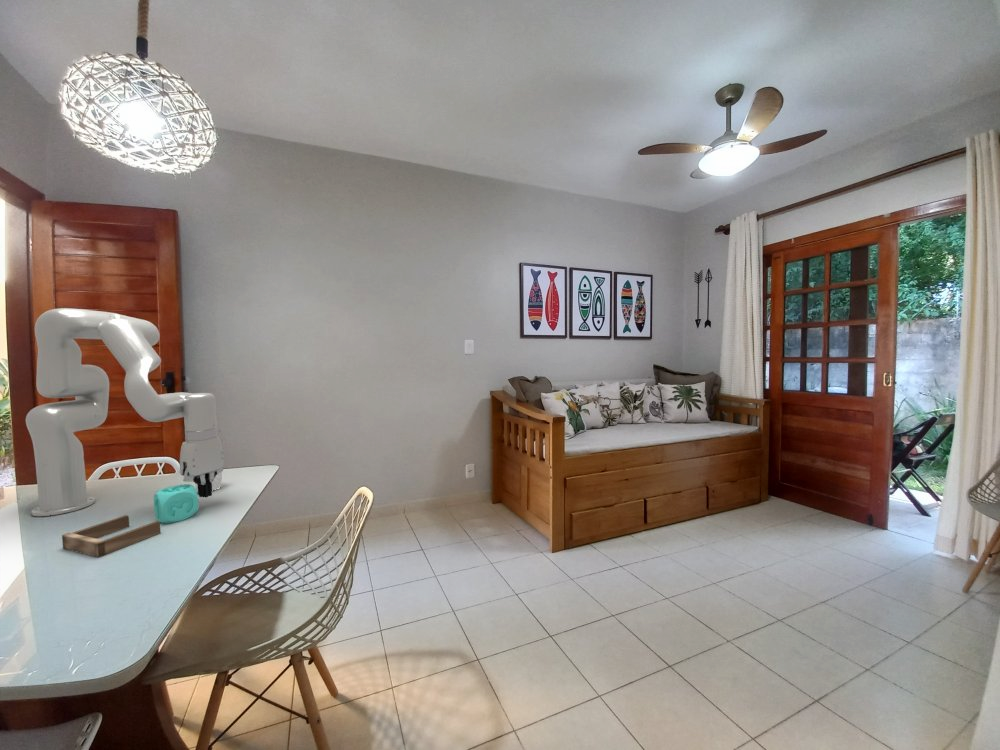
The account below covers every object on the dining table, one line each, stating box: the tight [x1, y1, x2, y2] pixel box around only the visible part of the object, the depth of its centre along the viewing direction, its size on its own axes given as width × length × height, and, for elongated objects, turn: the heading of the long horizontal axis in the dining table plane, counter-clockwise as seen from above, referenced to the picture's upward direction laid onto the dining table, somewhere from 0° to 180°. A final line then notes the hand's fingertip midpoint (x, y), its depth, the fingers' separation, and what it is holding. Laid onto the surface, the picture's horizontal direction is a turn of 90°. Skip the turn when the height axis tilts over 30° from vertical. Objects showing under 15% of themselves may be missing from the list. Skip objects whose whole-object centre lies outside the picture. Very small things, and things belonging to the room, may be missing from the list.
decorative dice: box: [153, 484, 199, 524], centre depth 109 cm, size 8×8×8 cm
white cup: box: [195, 471, 223, 493], centre depth 130 cm, size 8×8×10 cm
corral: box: [61, 514, 162, 558], centre depth 95 cm, size 13×12×3 cm
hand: (205, 496), depth 116 cm, fingers closed
